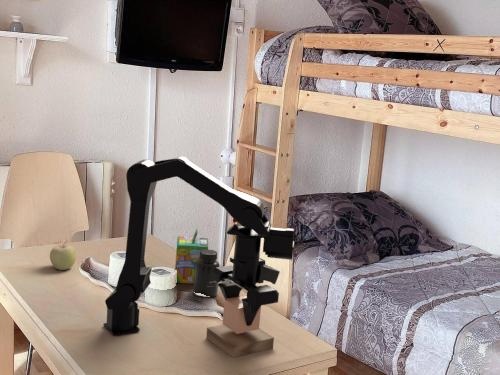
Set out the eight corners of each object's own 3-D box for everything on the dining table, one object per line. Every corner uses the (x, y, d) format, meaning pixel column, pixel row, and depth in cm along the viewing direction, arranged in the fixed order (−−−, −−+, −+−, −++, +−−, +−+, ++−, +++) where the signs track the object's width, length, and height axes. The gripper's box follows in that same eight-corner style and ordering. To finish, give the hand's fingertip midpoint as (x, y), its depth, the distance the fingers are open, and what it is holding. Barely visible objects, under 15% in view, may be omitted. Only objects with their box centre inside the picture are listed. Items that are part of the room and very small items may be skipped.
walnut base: (232, 357, 139) (233, 346, 139) (206, 337, 148) (207, 327, 147) (272, 347, 145) (273, 337, 145) (245, 329, 154) (246, 319, 154)
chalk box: (174, 273, 190) (177, 225, 188) (205, 274, 191) (208, 226, 189) (173, 283, 181) (176, 233, 179) (205, 285, 182) (209, 235, 180)
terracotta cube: (237, 333, 142) (239, 308, 141) (222, 323, 147) (224, 299, 145) (258, 329, 145) (261, 304, 144) (244, 319, 150) (246, 295, 149)
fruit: (81, 268, 188) (82, 242, 186) (61, 274, 182) (62, 247, 180) (63, 262, 192) (64, 236, 190) (43, 268, 185) (44, 241, 184)
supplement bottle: (214, 299, 172) (217, 257, 170) (189, 296, 173) (192, 253, 171) (220, 291, 178) (223, 250, 176) (196, 287, 180) (199, 246, 177)
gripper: (301, 263, 140) (294, 330, 143) (252, 240, 155) (246, 301, 158) (260, 268, 133) (253, 338, 136) (213, 244, 148) (208, 307, 151)
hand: (241, 320), depth 146 cm, fingers closed on terracotta cube, 6 cm apart
